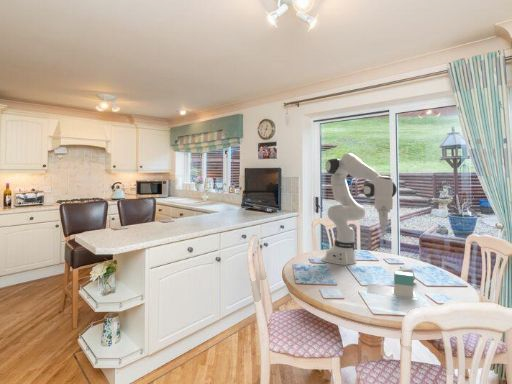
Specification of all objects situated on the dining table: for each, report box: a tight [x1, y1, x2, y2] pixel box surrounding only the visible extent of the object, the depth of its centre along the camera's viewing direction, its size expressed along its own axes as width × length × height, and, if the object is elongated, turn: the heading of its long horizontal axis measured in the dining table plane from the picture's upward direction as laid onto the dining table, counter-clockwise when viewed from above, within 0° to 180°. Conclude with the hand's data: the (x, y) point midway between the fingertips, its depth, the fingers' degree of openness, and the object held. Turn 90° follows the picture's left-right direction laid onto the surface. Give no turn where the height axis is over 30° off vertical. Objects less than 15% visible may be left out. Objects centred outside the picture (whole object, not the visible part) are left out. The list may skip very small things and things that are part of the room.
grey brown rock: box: [397, 266, 416, 281], centre depth 150 cm, size 8×9×10 cm
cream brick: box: [393, 281, 414, 296], centre depth 135 cm, size 8×5×5 cm, turn 66°
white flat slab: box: [366, 282, 418, 301], centre depth 138 cm, size 22×13×1 cm, turn 66°
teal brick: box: [393, 270, 415, 287], centre depth 135 cm, size 8×5×5 cm, turn 66°
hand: (382, 230), depth 149 cm, fingers open, 8 cm apart
